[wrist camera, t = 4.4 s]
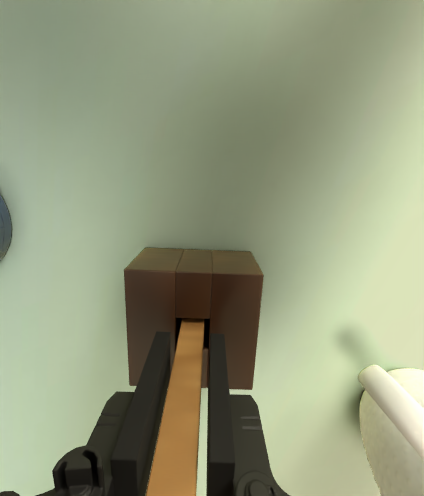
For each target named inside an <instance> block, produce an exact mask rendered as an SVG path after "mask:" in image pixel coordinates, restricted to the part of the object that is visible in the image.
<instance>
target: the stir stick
mask: <svg viewBox="0 0 424 496" xmlns="http://www.w3.org/2000/svg"><path fill="white" fill-rule="evenodd" d="M204 320H205V319H202V318H182V322H181V327H180V332H179V337H178V342H177V347H176V351H175V356H174V361H173V366H172V371H171V376H170V380H169V385H168V390H167V395H166V400H165V404H164V409H163V414H162V419H161V424H160V429H159V433H158V438H157V443H156V448H155V453H154V458H153V462H152V467H151V472H150V477H149V482H148V486H147V491H146V496H196V488H197V467H198V446H199V425H200V404H201V383H202V362H203V341H204Z"/></svg>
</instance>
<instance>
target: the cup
mask: <svg viewBox="0 0 424 496" xmlns="http://www.w3.org/2000/svg"><path fill="white" fill-rule="evenodd" d="M11 232H12V228H11V219H10V215H9V212H8V209H7V206H6V204H5V202H4V200H3V198H2V196H1V195H0V261H1V259H2V258H3V257H4V255H5V254H6V252H7V250H8V247H9V244H10V240H11Z"/></svg>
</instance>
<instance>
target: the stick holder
mask: <svg viewBox="0 0 424 496" xmlns="http://www.w3.org/2000/svg"><path fill="white" fill-rule="evenodd" d="M263 277H264V275H263V273H262V271H261V269H260V268H259V266H258V264H257V262H256V260H255V258H254V257H253V255H252V253H251V252H246V251H221V250H196V249H185V250H184V249H169V248H144V249H143V250H142V252H141V253H140V254H139V255H138V256H137V257H136V258H135V259H134V260H133V261H132V262H131V263H130V264H129V265H128V266H127V267H126V268H125V269H124V280H125V301H126V322H127V343H128V364H129V385H130V386H137V384H138V381H139V378H140V375H141V373H142V370H143V367H144V364H145V361H146V359H147V356H148V353H149V350H150V348H151V345H152V342H153V339H154V337H155V334H156V331H158V332H170V376H171V371H172V366H173V361H174V356H175V351H176V347H177V342H178V337H179V332H180V327H181V322H182V318H202V319H205V320H204V341H203V362H202V383H201V388H208V372H209V350H210V333H214V334H224V336H225V347H226V359H227V371H228V383H229V389H245V390H252V388H253V378H254V368H255V357H256V347H257V337H258V327H259V317H260V307H261V297H262V287H263ZM169 380H170V379H169ZM168 385H169V384H168Z"/></svg>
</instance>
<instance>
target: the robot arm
mask: <svg viewBox="0 0 424 496" xmlns="http://www.w3.org/2000/svg"><path fill="white" fill-rule="evenodd" d="M169 379H170V332H158V331H156V334H155V337H154V339H153V342H152V345H151V348H150V350H149V353H148V356H147V359H146V361H145V364H144V367H143V370H142V373H141V375H140V378H139V381H138V384H137V386H136V389H135V392H116V393H115V394H114V395H113V396H112V397H111V398H110V399H109V400H108V401H107V402H106V404H105V406H104V409H103V411H102V413H101V416H100V417H99V419H98V421H97V424H96V426H95V428H94V430H93V432H92V434H91V436H90V438H89V440H88V443H87V445H86V446H82V447H78V448H75V449H73V450H71V451H70V452H68V453H66V454H65V455H64V456H63V457H62V458H61V459H60V460H59V461H58V462H57V464H56V466H55V467H54V469H53V470H52V472H53V479H54V485H55V488H54V489H52V490H50V491H48V492H45V493H42V494H39V495H36V496H145V494H146V490H147V485H148V480H149V475H150V470H151V466H152V461H153V456H154V451H155V446H156V442H157V437H158V432H159V427H160V422H161V418H162V413H163V408H164V403H165V398H166V394H167V389H168V384H169ZM0 496H20V495H19V494H17V493H15V492H14V491H3V492H1V493H0ZM207 496H290V495H288V494H287V493H286V492H284V491H283V490H282V489H281V488H280V487H279V485H278V484H277V483H276V481H275V479H274V477H273V475H272V472H271V469H270V464H269V459H268V454H267V449H266V444H265V439H264V435H263V430H262V425H261V420H260V415H259V410H258V405H257V404H256V402H255V401H254V399H253V398H252V396H251V395H229V383H228V371H227V359H226V347H225V336H224V334H214V333H210V350H209V372H208V430H207Z"/></svg>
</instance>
